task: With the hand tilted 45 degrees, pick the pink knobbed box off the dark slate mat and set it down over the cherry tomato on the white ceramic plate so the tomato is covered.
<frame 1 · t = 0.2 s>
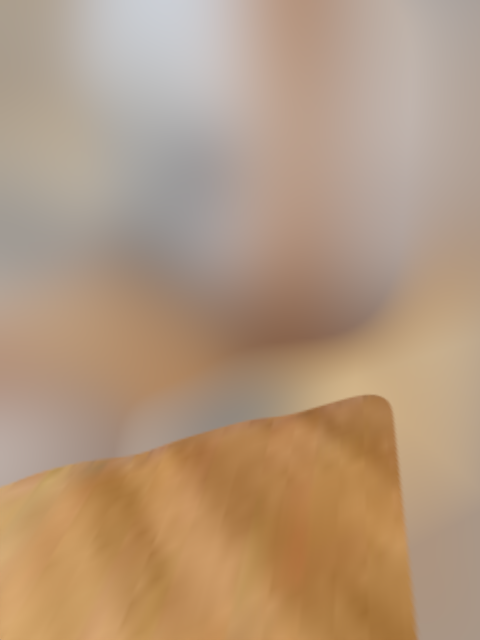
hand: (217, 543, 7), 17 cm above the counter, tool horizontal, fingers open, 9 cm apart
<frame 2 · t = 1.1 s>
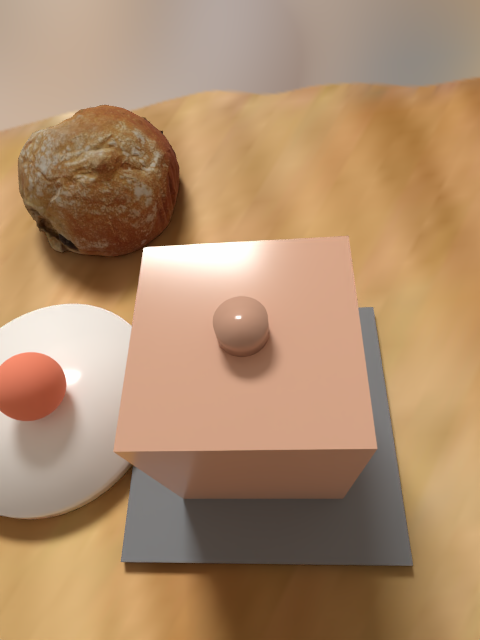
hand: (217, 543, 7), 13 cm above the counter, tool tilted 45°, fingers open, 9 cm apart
plate: (55, 404, 23), on the counter
mat: (261, 422, 22), on the counter
pink knobbed box: (261, 420, 21), resting on mat
bread roll: (114, 202, 31), on the counter
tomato: (46, 397, 22), point 1 cm above the counter, touching plate
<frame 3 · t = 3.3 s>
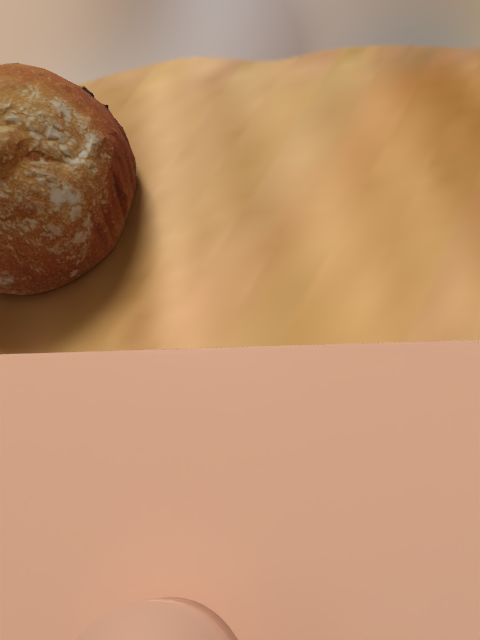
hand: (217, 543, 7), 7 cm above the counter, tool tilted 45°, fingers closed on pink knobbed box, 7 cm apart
pink knobbed box: (249, 615, 12), resting on mat, touching gripper
bread roll: (43, 211, 21), on the counter
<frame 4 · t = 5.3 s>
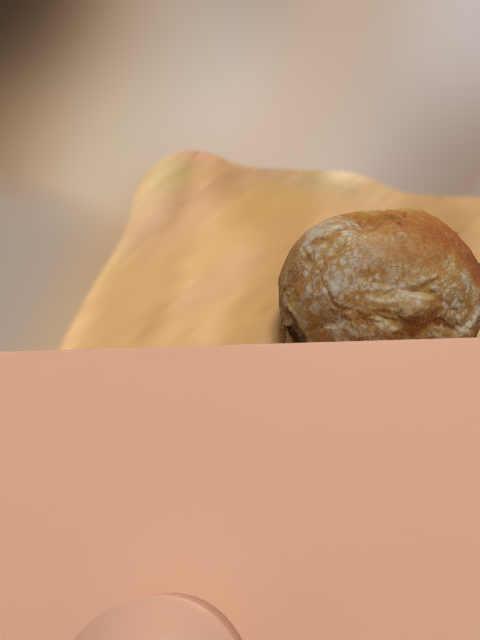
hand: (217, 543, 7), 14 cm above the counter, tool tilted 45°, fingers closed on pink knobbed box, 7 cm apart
pink knobbed box: (249, 613, 12), point 7 cm above the counter, touching gripper
bread roll: (372, 315, 24), on the counter
when the fingers open (8 cm above the counter, at t = 7.1 s): pink knobbed box drops 1 cm, resting on plate.
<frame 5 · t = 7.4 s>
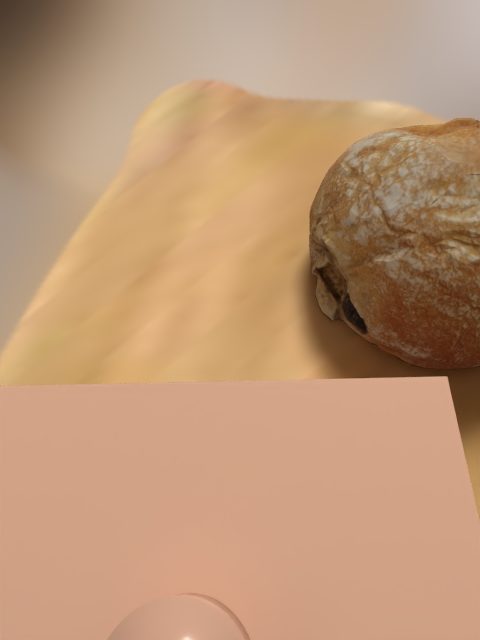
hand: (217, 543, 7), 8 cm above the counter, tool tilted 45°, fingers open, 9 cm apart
pink knobbed box: (251, 611, 13), point 1 cm above the counter, touching plate
bread roll: (424, 264, 20), on the counter
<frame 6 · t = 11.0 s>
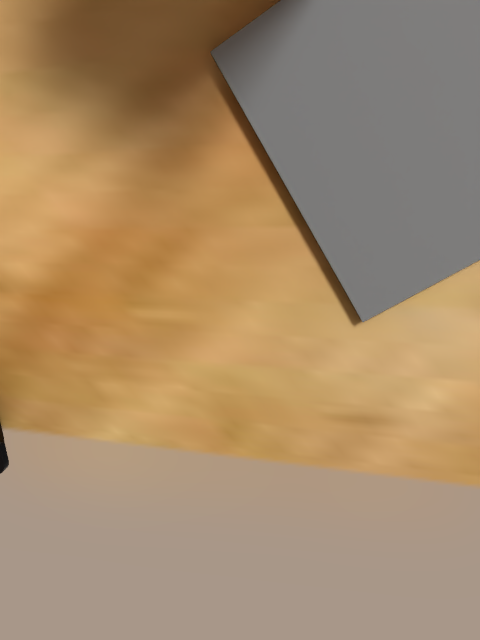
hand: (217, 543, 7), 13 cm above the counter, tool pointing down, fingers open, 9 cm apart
mat: (431, 108, 17), on the counter
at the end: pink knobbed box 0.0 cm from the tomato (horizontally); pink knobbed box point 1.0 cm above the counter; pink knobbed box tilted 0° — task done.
